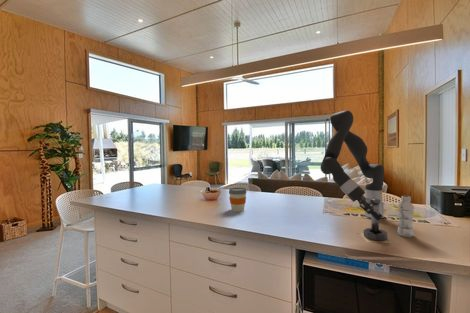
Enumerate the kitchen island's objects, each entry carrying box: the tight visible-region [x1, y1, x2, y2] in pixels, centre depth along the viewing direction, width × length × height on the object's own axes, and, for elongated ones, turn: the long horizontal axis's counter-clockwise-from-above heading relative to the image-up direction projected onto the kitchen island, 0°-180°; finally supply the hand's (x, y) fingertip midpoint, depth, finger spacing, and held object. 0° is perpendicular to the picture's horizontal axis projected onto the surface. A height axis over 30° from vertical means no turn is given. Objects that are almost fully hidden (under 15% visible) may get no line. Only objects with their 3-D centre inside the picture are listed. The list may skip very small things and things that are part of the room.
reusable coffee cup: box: [228, 187, 247, 212], centre depth 175 cm, size 13×13×15 cm
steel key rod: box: [370, 199, 380, 231], centre depth 116 cm, size 4×4×15 cm
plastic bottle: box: [396, 195, 415, 238], centre depth 119 cm, size 6×7×20 cm
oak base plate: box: [356, 232, 396, 244], centre depth 116 cm, size 12×12×1 cm
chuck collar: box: [363, 227, 388, 241], centre depth 116 cm, size 9×9×3 cm
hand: (380, 218), depth 115 cm, fingers closed on steel key rod, 3 cm apart
